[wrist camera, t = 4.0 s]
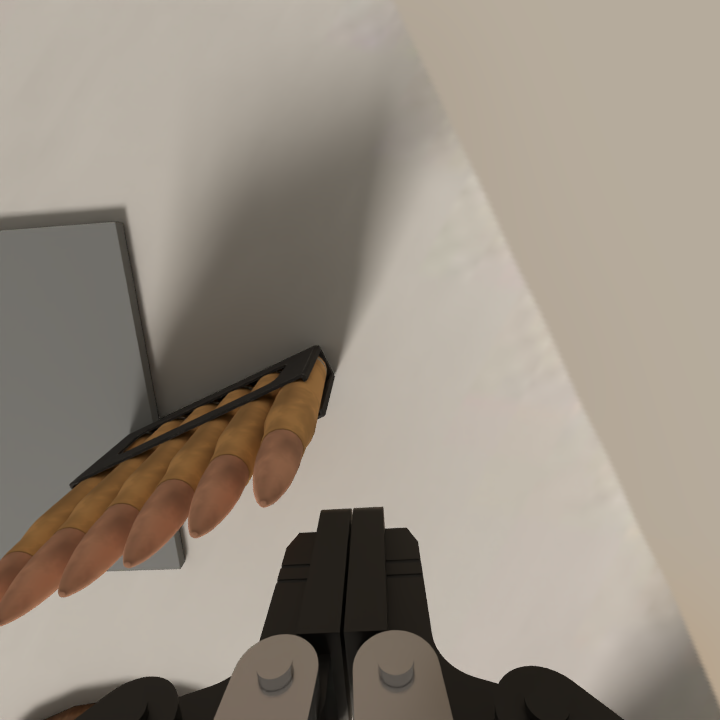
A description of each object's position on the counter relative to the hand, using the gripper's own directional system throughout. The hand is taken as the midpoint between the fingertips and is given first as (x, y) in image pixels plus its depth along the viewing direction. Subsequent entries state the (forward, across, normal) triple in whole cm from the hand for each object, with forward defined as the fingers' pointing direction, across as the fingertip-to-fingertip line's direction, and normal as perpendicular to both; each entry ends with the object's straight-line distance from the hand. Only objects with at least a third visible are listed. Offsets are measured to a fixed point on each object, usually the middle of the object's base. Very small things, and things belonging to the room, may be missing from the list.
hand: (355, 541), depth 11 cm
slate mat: (+12, +18, 0) cm, 21 cm away
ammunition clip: (+11, +7, 0) cm, 13 cm away
